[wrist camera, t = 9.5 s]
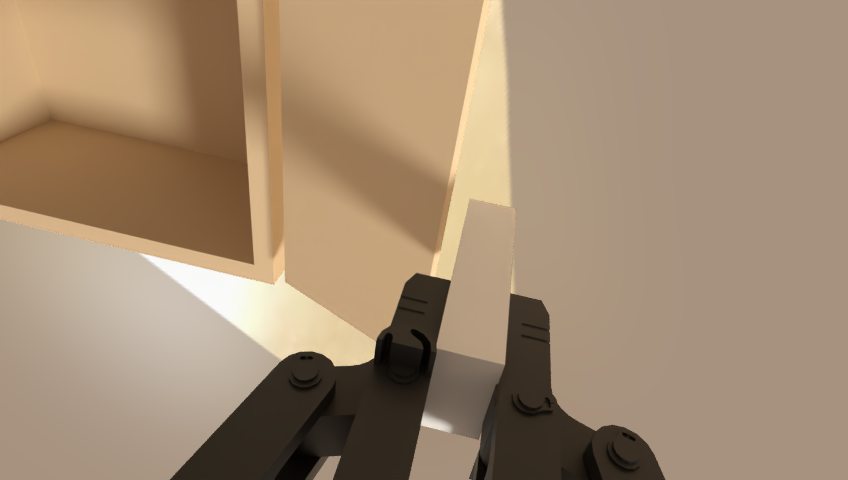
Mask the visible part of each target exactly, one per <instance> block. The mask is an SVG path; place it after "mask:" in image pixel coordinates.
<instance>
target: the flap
mask: <svg viewBox="0 0 848 480" xmlns="http://www.w3.org/2000/svg"><path fill="white" fill-rule="evenodd" d="M490 3H491V0H279V21H280V68H281V114H282V161H283V208H284V255H285V282H286V283H288V284H289V285H291V286H292V287H294V288H295V289H297V290H298V291H300V292H301V293H303V294H304V295H306V296H308V297H309V298H311V299H312V300H314V301H315V302H317V303H318V304H320V305H321V306H323V307H324V308H326V309H327V310H329V311H330V312H332V313H334V314H335V315H337V316H338V317H340V318H341V319H343V320H344V321H346V322H347V323H349V324H350V325H352V326H353V327H355V328H356V329H358V330H359V331H361V332H363V333H364V334H366V335H367V336H369V337H370V338H372V339H373V340H375V341H376V340H377V337H378V336H379V334H380V333H381V331H382V330H384V329H386V328H387V327H389V326H390V325H391V322H392V319H393V317H394V314H395V311H396V309H397V305H398V302H399V299H400V297H401V293H402V291H403V288H404V285H405V282H406V281H408V280H409V279H410V278H411V277H412V276H413V275H414V274H416V273H420V274H424V275H428V276H433V277H435V275H436V270H437V265H438V260H439V255H440V250H441V245H442V240H443V236H444V231H445V226H446V221H447V216H448V211H449V206H450V201H451V196H452V191H453V186H454V181H455V176H456V171H457V166H458V161H459V156H460V151H461V146H462V141H463V137H464V132H465V127H466V122H467V117H468V112H469V107H470V102H471V97H472V92H473V87H474V82H475V77H476V72H477V67H478V62H479V57H480V52H481V47H482V42H483V38H484V33H485V28H486V23H487V18H488V13H489V8H490Z"/></svg>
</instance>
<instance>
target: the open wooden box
mask: <svg viewBox="0 0 848 480" xmlns="http://www.w3.org/2000/svg"><path fill="white" fill-rule="evenodd" d="M0 219H1V220H5V221H10V222H13V223H18V224H22V225H26V226H30V227H35V228H39V229H43V230H47V231H51V232H56V233H60V234H64V235H68V236H72V237H76V238H81V239H84V240H89V241H93V242H97V243H101V244H105V245H109V246H114V247H118V248H122V249H126V250H131V251H135V252H139V253H143V254H147V255H151V256H155V257H160V258H164V259H168V260H172V261H176V262H180V263H185V264H189V265H193V266H197V267H201V268H206V269H210V270H214V271H218V272H222V273H226V274H231V275H235V276H239V277H243V278H247V279H251V280H252V279H253V280H257V281H261V282H265V283H269V284H273V285H274V284H275V282H276V281H277V279H278V278H279V276H280V275H281V274H282V272H283V271H284V269H285V255H284V208H283V161H282V114H281V68H280V21H279V0H0Z"/></svg>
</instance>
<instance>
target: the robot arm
mask: <svg viewBox="0 0 848 480" xmlns="http://www.w3.org/2000/svg"><path fill="white" fill-rule="evenodd" d="M515 220H516V209H515V208H510V207H506V206H501V205H497V204H492V203H487V202H483V201H478V200H474V199H470V200H469V205H468V209H467V214H466V218H465V222H464V227H463V231H462V235H461V240H460V244H459V248H458V253H457V257H456V262H455V266H454V270H453V275H452V279H451V281H450V280H446V279H441V278H437V277H433V276H428V275H424V274H420V273H416V274H414V275H413V276H412V277H411V278H410V279H409V280H408V281H406V282H405V285H404V288H403V291H402V293H401V297H400V299H399V302H398V305H397V309H396V311H395V314H394V317H393V319H392V322H391V325H390V326H389V327H387V328H386V329H384V330H382V331H381V333H380V334H379V336H378V337H377V340H376V348H375V356H374V359H372V360H370V361H369V362H366V363H363V364H361V365H354V366H334V365H333V363H332V361H331V360H330V359H328V358H327V357H325V356H324V355H322V354H319V353H315V352H298V353H295V354H292V355H289V356H288V357H286V358H285V359H284V360H282V361H281V362H280V363H279V364H278V365H277V366H276V367H275V368H274V369H273V370H272V371H271V372H270V373H269V375H268V376H267V377H266V378H265V379H264V380H263V381H262V382H261V383H260V384H259V385H258V386H257V387H256V388H255V389H254V391H253V392H252V393H251V394H250V395H249V396H248V397H247V398H246V399H245V400H244V401H243V402H242V403H241V404H240V406H239V407H238V408H237V409H236V410H235V411H234V412H233V413H232V414H231V415H230V416H229V417H228V418H227V419H226V420H225V422H224V423H223V424H222V425H221V426H220V427H219V428H218V429H217V430H216V431H215V432H214V433H213V434H212V435H211V437H209V439H208V440H207V441H206V442H205V443H204V444H203V445H202V446H201V447H200V448H199V449H198V450H197V451H196V453H194V455H193V456H192V457H191V458H190V459H189V460H188V461H187V462H186V463H185V464H184V465H183V466H182V467H181V468H180V470H179V471H178V472H177V473H176V474H175V475H174V476H173V477H172V478H171V479H170V480H313V479H314V477H315V476H316V474H317V473H318V471H319V470H320V468H321V467H322V466H323V464H324V463H325V461H326V460H327V458H328V456H341V458H340V461H339V464H338V467H337V469H336V473H335V475H334V478H333V480H409V476H410V471H411V466H412V462H413V458H414V453H415V448H416V444H417V439H418V435H419V430H420V426H421V425H422V426H426V427H430V428H435V429H438V430H442V431H446V432H450V433H454V434H458V435H462V436H466V437H470V438H474V439H478V440H479V437H480V434H481V443H480V450H479V452H478V455H477V458H476V460H475V463H474V466H473V469H472V472H471V474H470V477H469V479H472V480H665V478H664V476H663V474H662V471H661V469H660V467H659V465H658V462H657V460H656V458H655V455H654V454H653V452H652V451H651V449H650V447H649V446H648V444H647V443H646V442H645V441H644V440H643V439H642V438H640V437H639V436H638V435H637V434H636V433H634V432H632V431H630V430H628V429H626V428H624V427H619V426H615V425H609V426H603V427H601V428H600V429H598V430H597V431H594V430H592V429H591V428H589V427H587V426H585V425H583V424H582V423H579V422H578V421H576V420H575V419H573V418H572V417H570V416H568V414H566V413H565V412H564V411H563V410H562V409H561V408H560V406H559V405H558V404H557V401H556V398H555V397H554V395H553V394H552V389H551V370H550V344H549V342H550V333H549V330H550V326H549V314H548V312H547V310H546V308H545V306H544V304H543V303H542V301H541V300H537V299H532V298H528V297H523V296H519V295H515V294H511V293H510V289H511V275H512V261H513V248H514V234H515V233H514V232H515ZM481 432H482V433H481Z"/></svg>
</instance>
